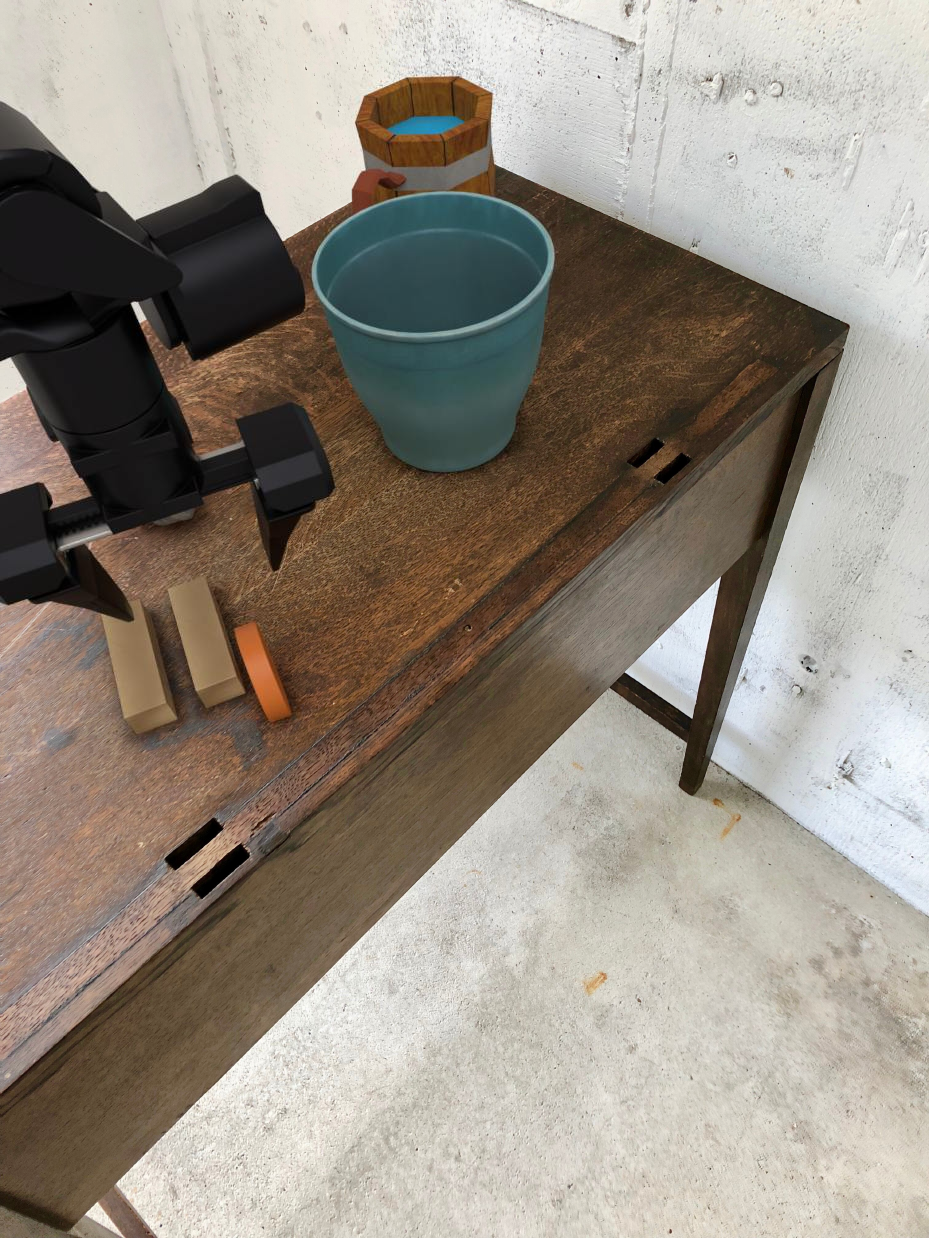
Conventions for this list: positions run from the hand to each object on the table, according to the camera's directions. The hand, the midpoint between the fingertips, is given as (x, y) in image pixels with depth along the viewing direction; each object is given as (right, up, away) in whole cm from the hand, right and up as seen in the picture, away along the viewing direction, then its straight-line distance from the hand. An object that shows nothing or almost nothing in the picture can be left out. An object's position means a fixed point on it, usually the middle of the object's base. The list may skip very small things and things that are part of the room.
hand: (203, 590), depth 55 cm
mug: (+12, +35, +39) cm, 54 cm away
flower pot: (+15, +15, +24) cm, 32 cm away
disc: (+2, -7, +9) cm, 12 cm away
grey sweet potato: (-11, +9, +22) cm, 26 cm away
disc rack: (-5, -5, +11) cm, 13 cm away
